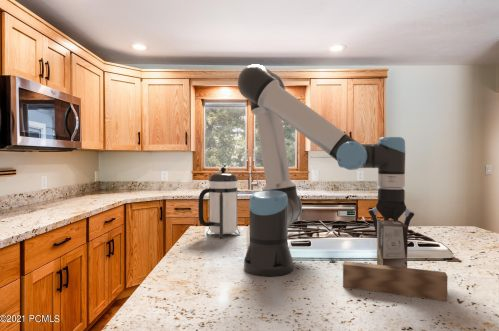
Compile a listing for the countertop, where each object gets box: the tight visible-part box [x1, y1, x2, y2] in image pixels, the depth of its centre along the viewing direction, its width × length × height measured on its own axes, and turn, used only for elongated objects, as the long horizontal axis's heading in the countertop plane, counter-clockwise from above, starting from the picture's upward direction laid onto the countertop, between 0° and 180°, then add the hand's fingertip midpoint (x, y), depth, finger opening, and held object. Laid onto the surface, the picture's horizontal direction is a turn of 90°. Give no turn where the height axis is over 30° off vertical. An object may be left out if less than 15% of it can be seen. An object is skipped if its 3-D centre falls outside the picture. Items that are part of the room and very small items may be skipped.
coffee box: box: [376, 219, 409, 268], centre depth 93 cm, size 9×6×16 cm
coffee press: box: [197, 166, 241, 239], centre depth 147 cm, size 17×16×30 cm
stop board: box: [342, 260, 449, 302], centre depth 85 cm, size 24×3×6 cm, turn 68°
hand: (390, 265), depth 102 cm, fingers closed
